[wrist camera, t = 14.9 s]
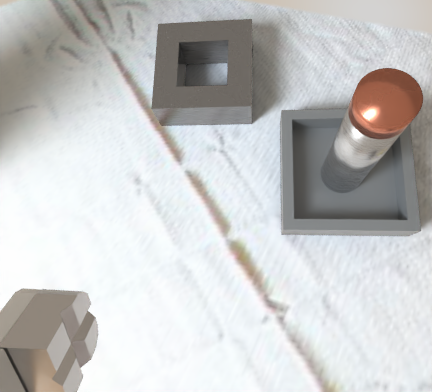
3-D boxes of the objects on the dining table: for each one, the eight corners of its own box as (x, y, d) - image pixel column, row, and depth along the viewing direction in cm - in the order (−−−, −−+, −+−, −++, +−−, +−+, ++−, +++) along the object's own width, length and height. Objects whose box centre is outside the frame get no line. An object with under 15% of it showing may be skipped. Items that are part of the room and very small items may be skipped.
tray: (281, 234, 38) (283, 229, 35) (280, 123, 41) (281, 110, 38) (408, 236, 37) (421, 231, 34) (397, 120, 40) (408, 107, 37)
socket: (161, 125, 43) (151, 108, 39) (167, 47, 45) (158, 23, 41) (252, 123, 41) (251, 106, 38) (252, 43, 44) (251, 19, 40)
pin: (321, 193, 38) (357, 127, 23) (319, 155, 39) (352, 69, 25) (363, 192, 37) (426, 125, 23) (360, 154, 38) (418, 66, 24)
